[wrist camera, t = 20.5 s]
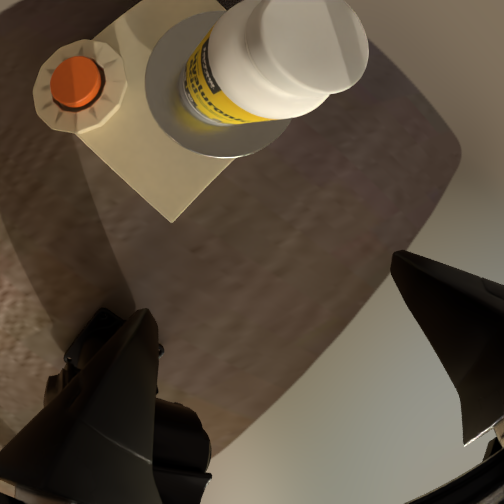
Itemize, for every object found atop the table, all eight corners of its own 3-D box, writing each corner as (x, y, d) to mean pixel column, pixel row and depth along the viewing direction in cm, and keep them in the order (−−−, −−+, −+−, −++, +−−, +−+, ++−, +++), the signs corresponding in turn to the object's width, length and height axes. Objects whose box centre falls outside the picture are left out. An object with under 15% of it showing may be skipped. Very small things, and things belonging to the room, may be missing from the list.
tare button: (76, 117, 14) (70, 114, 13) (48, 89, 13) (40, 84, 11) (110, 82, 14) (108, 75, 13) (81, 54, 13) (77, 46, 11)
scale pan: (220, 190, 19) (223, 191, 18) (110, 80, 14) (109, 78, 13) (321, 94, 19) (326, 93, 18) (231, -10, 14) (234, -13, 14)
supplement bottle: (162, 71, 14) (198, -6, 6) (238, 27, 15) (332, -47, 6) (215, 144, 17) (303, 147, 8) (285, 96, 17) (406, 75, 9)
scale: (164, 225, 21) (169, 237, 18) (31, 100, 14) (16, 94, 12) (294, 97, 21) (315, 93, 19) (178, -25, 15) (186, -45, 12)
